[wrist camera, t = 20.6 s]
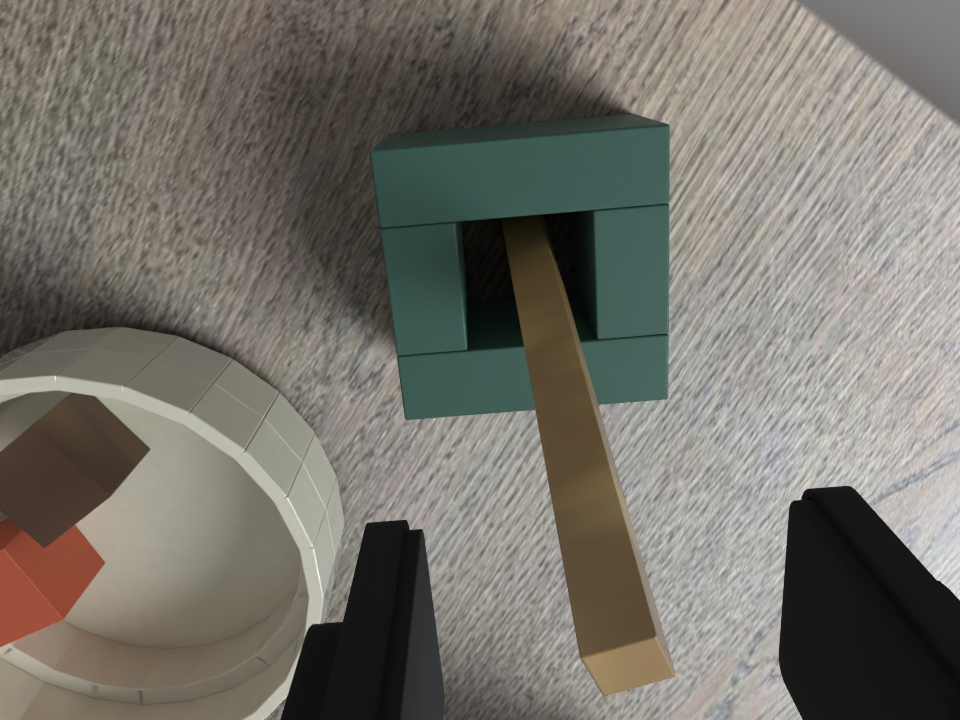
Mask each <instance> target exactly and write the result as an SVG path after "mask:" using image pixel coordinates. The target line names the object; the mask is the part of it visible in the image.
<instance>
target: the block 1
mask: <svg viewBox="0 0 960 720" xmlns="http://www.w3.org/2000/svg"><path fill="white" fill-rule="evenodd" d="M149 451H150V448H149V447H148V446H147V445H146V444H145V443H144V442H143V441H142V440H141V439H140V438H139V437H138V436H136V435H135V434H134V433H133V432H132V431H131V430H130V429H129V428H128V427H127V426H126V425H125V424H124V423H123V422H122V421H121V420H120V419H119V418H117V417H116V416H115V415H114V414H113V413H112V412H111V411H110V410H109V409H108V408H107V407H106V406H105V405H104V404H103V403H102V402H101V401H100V400H99V399H97V398H96V397H95V396H92V395H85V394H79V393H71V394H69V395H68V396H67V397H66V398H64V399H63V400H62V401H61V402H60V403H58V404H57V405H56V406H55V407H53V408H52V409H51V410H50V411H48V412H47V413H46V414H45V415H44V416H42V417H41V418H40V419H39V420H37V421H36V422H35V423H34V424H32V425H31V426H30V427H29V428H28V429H26V430H25V431H24V432H23V433H22V434H21V435H19V436H18V437H17V438H16V439H15V440H13V441H12V442H11V443H10V444H9V445H7V446H6V447H5V448H4V449H3V450H2V451H0V511H1V512H2V513H3V514H5V515H6V516H7V517H8V518H9V519H10V520H12V521H13V522H14V523H15V524H16V525H18V526H19V527H20V528H21V529H22V530H23V531H25V532H26V533H27V534H28V535H29V536H30V537H32V538H33V539H34V540H35V541H36V542H37V543H39V544H40V545H41V546H42V547H43V548H46V547H47V546H49V545H50V544H51V543H52V542H54V541H55V540H56V539H58V538H59V537H60V536H61V535H63V534H64V533H65V532H66V531H68V530H69V529H70V528H72V527H73V526H74V525H75V524H77V523H78V522H79V521H80V520H82V519H83V518H84V517H86V516H87V515H88V514H89V513H91V512H92V511H93V510H94V509H96V508H97V507H98V506H100V505H101V504H102V503H103V502H105V501H106V500H107V499H109V498H110V497H111V496H112V495H113V494H114V493H115V491H116V490H117V489H118V488H119V487H120V485H121V484H122V483H123V482H124V481H125V479H126V478H127V477H128V476H129V475H130V474H131V472H132V471H133V470H134V469H135V468H136V466H137V465H138V464H139V463H140V462H141V460H142V459H143V458H144V457H145V456H146V455H147V453H148V452H149Z"/></svg>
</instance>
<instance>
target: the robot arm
mask: <svg viewBox="0 0 960 720" xmlns="http://www.w3.org/2000/svg"><path fill="white" fill-rule="evenodd" d="M779 664H780V670H781V674H782V677H783V680H784V683H785V685H786V687H787V689H788V691H789V693H790V695H791V697H792V699H793V701H794V703H795V705H796V707H797V709H798V711H799V713H800V715H801V717H802V719H803V720H960V601H959V599H958V598H957V597H956V596H955V595H954V594H953V593H952V592H951V591H950V590H949V589H948V588H947V587H946V586H945V585H944V584H942V583H941V582H940V581H937V580H936V579H935V578H934V577H933V576H932V575H931V574H930V573H929V571H928V570H927V569H926V568H925V567H924V566H923V565H922V564H921V563H920V561H919V560H918V559H917V558H916V557H915V556H914V555H913V554H912V553H911V551H910V550H909V549H908V548H907V547H906V546H905V545H904V544H903V542H902V541H901V540H900V539H899V538H898V537H897V536H896V535H895V534H894V532H893V531H892V530H891V529H890V528H889V527H888V526H887V525H886V524H885V522H884V521H883V520H882V519H881V518H880V517H879V516H878V515H877V514H876V512H875V511H874V510H873V509H872V508H871V507H870V506H869V505H868V504H867V502H866V501H865V500H864V499H863V498H862V497H861V496H860V495H859V494H858V492H857V491H856V490H855V489H853V488H852V487H850V486H840V487H827V488H814V489H807V490H805V491H804V493H803V495H802V499H801V500H797V501H793V502H792V503H791V505H790V509H789V520H788V534H787V547H786V561H785V575H784V589H783V603H782V617H781V631H780V645H779ZM443 718H444V688H443V677H442V670H441V662H440V654H439V647H438V639H437V631H436V624H435V616H434V608H433V601H432V593H431V585H430V577H429V570H428V562H427V554H426V547H425V539H424V533H423V530H422V529H418V530H409V525H408V522H407V520H398V521H385V522H372V523H367V524H366V527H365V530H364V535H363V539H362V543H361V547H360V552H359V556H358V560H357V564H356V569H355V573H354V577H353V582H352V586H351V590H350V594H349V599H348V603H347V607H346V611H345V616H344V620H343V622H337V623H323V624H312V625H311V626H310V627H309V628H308V631H307V633H306V636H305V638H304V642H303V645H302V649H301V652H300V655H299V659H298V662H297V666H296V669H295V672H294V676H293V679H292V683H291V686H290V689H289V693H288V696H287V699H286V703H285V706H284V710H283V713H282V716H281V720H443Z"/></svg>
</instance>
